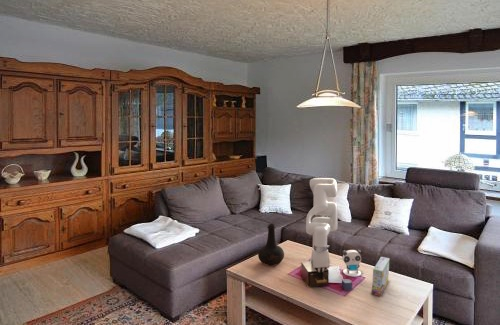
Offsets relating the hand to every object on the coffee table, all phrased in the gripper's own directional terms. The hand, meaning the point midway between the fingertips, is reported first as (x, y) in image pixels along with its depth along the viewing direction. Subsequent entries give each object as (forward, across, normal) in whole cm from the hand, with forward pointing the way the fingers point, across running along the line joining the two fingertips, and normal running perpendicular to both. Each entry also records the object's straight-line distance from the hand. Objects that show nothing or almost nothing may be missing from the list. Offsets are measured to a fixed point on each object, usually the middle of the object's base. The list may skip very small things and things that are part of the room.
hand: (320, 277), depth 205 cm
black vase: (+7, +21, -40) cm, 46 cm away
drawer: (+6, 0, -6) cm, 9 cm away
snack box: (+7, -36, +5) cm, 37 cm away
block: (+7, -16, +2) cm, 17 cm away
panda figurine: (+7, -27, -16) cm, 32 cm away
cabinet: (+7, 0, -11) cm, 13 cm away
